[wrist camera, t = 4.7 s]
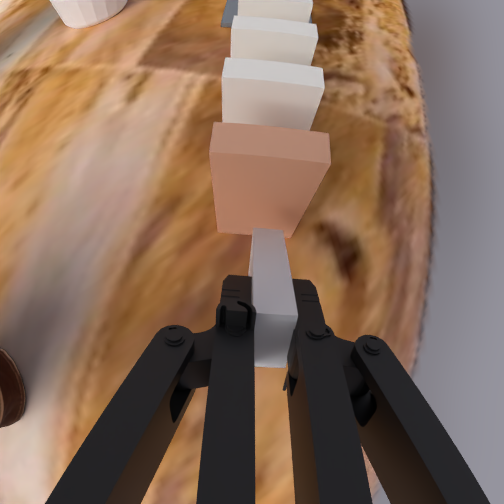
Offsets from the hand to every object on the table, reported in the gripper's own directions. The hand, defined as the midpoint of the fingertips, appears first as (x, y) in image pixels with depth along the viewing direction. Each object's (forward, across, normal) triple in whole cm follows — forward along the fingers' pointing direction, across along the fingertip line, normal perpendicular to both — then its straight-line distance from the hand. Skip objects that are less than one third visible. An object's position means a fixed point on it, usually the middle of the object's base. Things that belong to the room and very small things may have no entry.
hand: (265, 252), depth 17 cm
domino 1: (+6, 0, -1) cm, 6 cm away
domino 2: (+9, 0, +2) cm, 9 cm away
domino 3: (+12, 0, +5) cm, 13 cm away
